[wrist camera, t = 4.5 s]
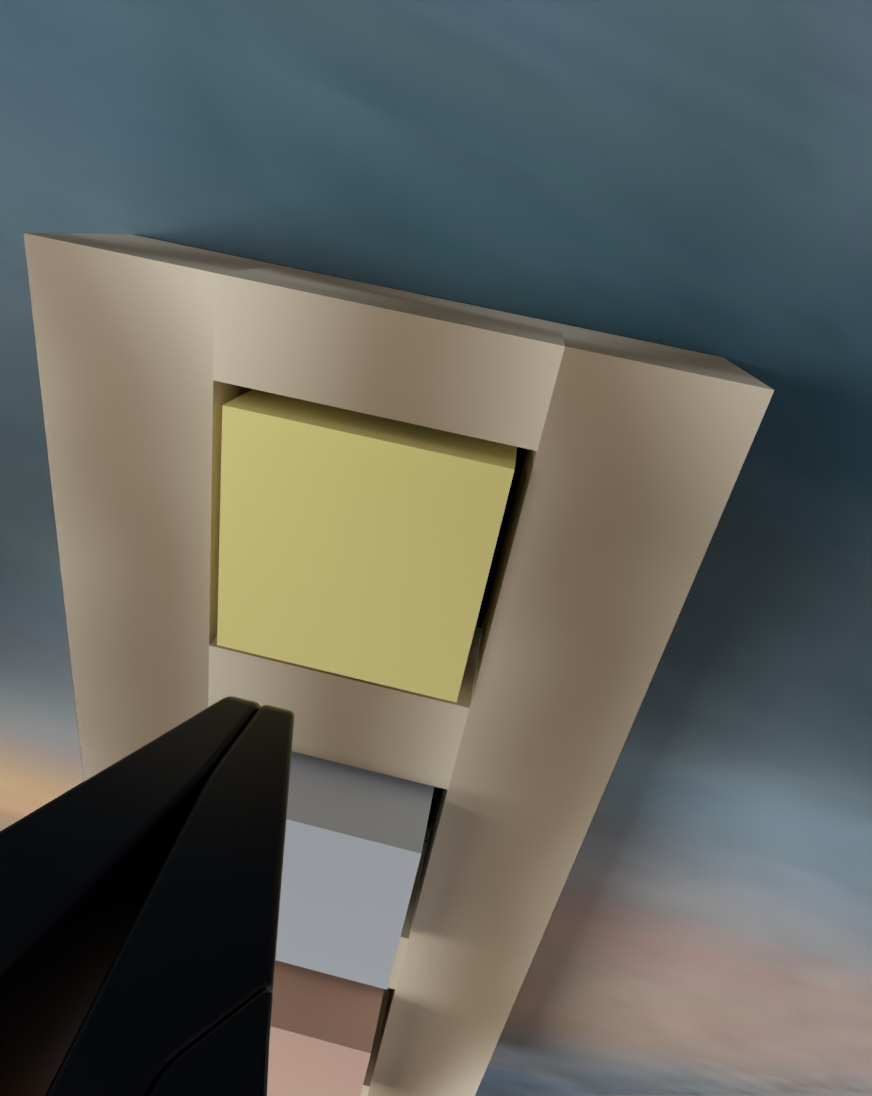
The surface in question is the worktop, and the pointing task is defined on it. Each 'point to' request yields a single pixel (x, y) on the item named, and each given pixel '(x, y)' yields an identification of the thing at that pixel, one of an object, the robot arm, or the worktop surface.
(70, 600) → the button board
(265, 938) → the robot arm
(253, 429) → the yellow button
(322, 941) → the grey button
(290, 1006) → the clay button
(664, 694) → the worktop surface
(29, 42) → the worktop surface
